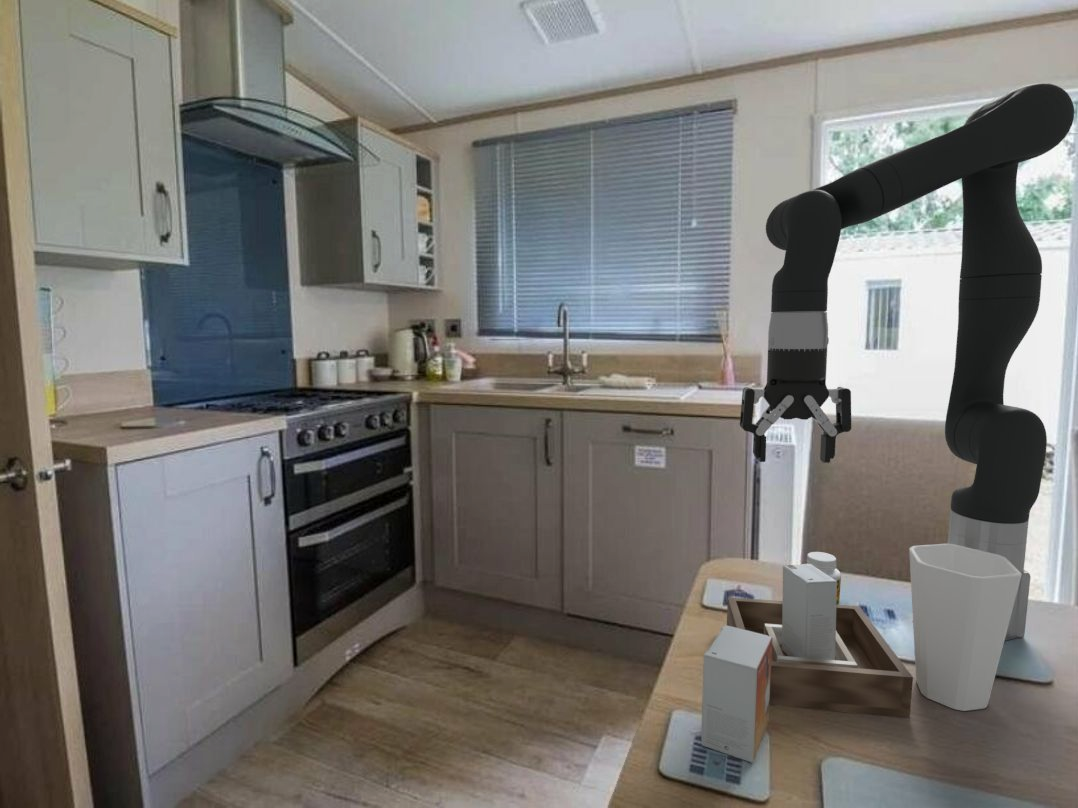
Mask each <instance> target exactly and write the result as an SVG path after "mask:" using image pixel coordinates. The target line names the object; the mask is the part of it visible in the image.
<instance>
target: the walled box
mask: <svg viewBox="0 0 1078 808" xmlns="http://www.w3.org/2000/svg"><path fill="white" fill-rule="evenodd" d="M726 606H727V609H726V610H727V611H726V613H727V615H726V625H727V626H732V627H736V628H740V629H744V630H748V631H751V632H755V633H759V634H763V635H767V636H771V637H772V638H773V640H772V660H771V677H770V699H769V706H775V707H788V708H797V709H806V710H807V709H808V710H818V711H827V712H828V711H829V712H832V711H833V712H840V713H841V712H842V713H848V714H849V713H850V714H851V713H852V714H861V715H872V716H882V717H891V718H893V717H895V718H903V719H910V718H911V709H912V708H911V707H912V705H911V704H912V694H913V682H914V681H913V680H914V677H913V675H912V674H911V673H910V672H909V669H908V668H907V667H906V666H905V665H904V663H903V662H902V661H901V660H900V658H899V657H898V656H897V654H896V653H895V651H894V650H893V649H892V648H891V646H890V645H889V644H888V642H887V641H886V640H885V638H884V637H883V636H882V634H881V633H880V632H879V630H878V629H877V628H876V626H875V624H873V622H872V621H871V620H870V618H869V617H868V616H867V614H866V613H865V611H863V608H861V606H860V605H850V604H849V605H847V604H839V605H836V640H835V660H827V659H814V658H802V657H790V656H788V655H787V654H786V653H785V652H784V651H783V650H782V606H783V600H774V599H773V600H772V599H759V598H745V597H744V598H743V597H731V596H728V597H727V605H726Z"/></svg>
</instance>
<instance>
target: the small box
mask: <svg viewBox="0 0 1078 808" xmlns="http://www.w3.org/2000/svg"><path fill="white" fill-rule="evenodd" d="M772 640H773V638H772V637H771V636H767V635H763V634H759V633H755V632H751V631H748V630H744V629H740V628H736V627H732V626H727V624H724V625H722V628H721V629H720V631H719V632H718V634H717V636H716V637H715V639H714V641H713V642H712V643H711V645H710V646H709V648H708V649H707V650H706V651H705V652H704V654H703V663H702V664H703V666H702V667H703V668H702V669H703V671H702V673H703V674H702V699H701V701H702V703H701V704H702V705H701V738H700V739H701V741H700V742H701V743H700V744H701V746H703V747H705V748H707V749H712V750H714V751H717V752H720V753H723V754H726V755H729V756H731V757H734V758H737V759H740V760H743V761H746V762H749V763H751V764H752V763H755V759H756V756H757V753H758V750H759V747H760V745H761V743H762V740H763V737H764V736H765V732H766V730H767V728H768V725H769V717H770V716H769V715H770V705H769V699H770V677H771V660H772Z"/></svg>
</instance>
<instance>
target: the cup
mask: <svg viewBox="0 0 1078 808" xmlns="http://www.w3.org/2000/svg"><path fill="white" fill-rule="evenodd" d="M908 550H909V551H908V554H909V569H910V570H909V571H910V587H911V591H910V592H911V605H912V606H911V607H912V623H913V624H912V626H913V627H912V628H913V644H914V645H913V646H914V663H915V681H916V683H917V686H918V689H919V691H920V693H921V695H922V696H924V697H926V698H927V699H929V700H931V701H934V702H936V703H938V704H941V705H943V706H945V707H948V708H950V709H954V710H955V711H956V710H957V711H962V712H966V711H968V712H969V711H974V710H983V709H986V708H987V707H988V705H989V703H990V702H989V701H990V697H991V693H992V689H993V687H994V682H995V678H996V676H997V675H996V674H997V672H998V671H997V670H998V667H999V662H1000V659H1001V656H1002V655H1001V654H1002V652H1003V647H1004V644H1005V641H1006V640H1005V637H1006V633H1007V629H1008V625H1009V621H1010V617H1011V614H1012V610H1013V606H1014V602H1015V598H1016V594H1017V591H1018V587H1019V583H1020V579H1021V575H1022V574H1021V573H1020V572H1019V571H1018V570H1017V569H1016V568H1015V567H1014V566H1013V565H1012V564H1011V563H1010V562H1009V561H1008V560H1007V559H1006V558H1005V557H1003V556H1000V555H997V554H993V553H989V552H984V551H980V550H976V549H972V548H967V547H963V546H959V545H955V544H948V543H938V544H924V545H923V544H922V545H912V546H911V547H909V548H908Z"/></svg>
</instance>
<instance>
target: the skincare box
mask: <svg viewBox="0 0 1078 808" xmlns="http://www.w3.org/2000/svg"><path fill="white" fill-rule="evenodd" d="M782 601H783V606H782V650H783V651H784V652H785V653H786V654H787V655H788V656H790V657H802V658H814V659H827V660H835V640H836V604H837V581H836V580H834V579H833V578H831V577H830V576H828V575H827V574H825V573H823V572H822V571H820V570H819V569H817V568H816V567H814V566H813V565H811V564H807V563H802V564H789V565H783V566H782Z"/></svg>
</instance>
